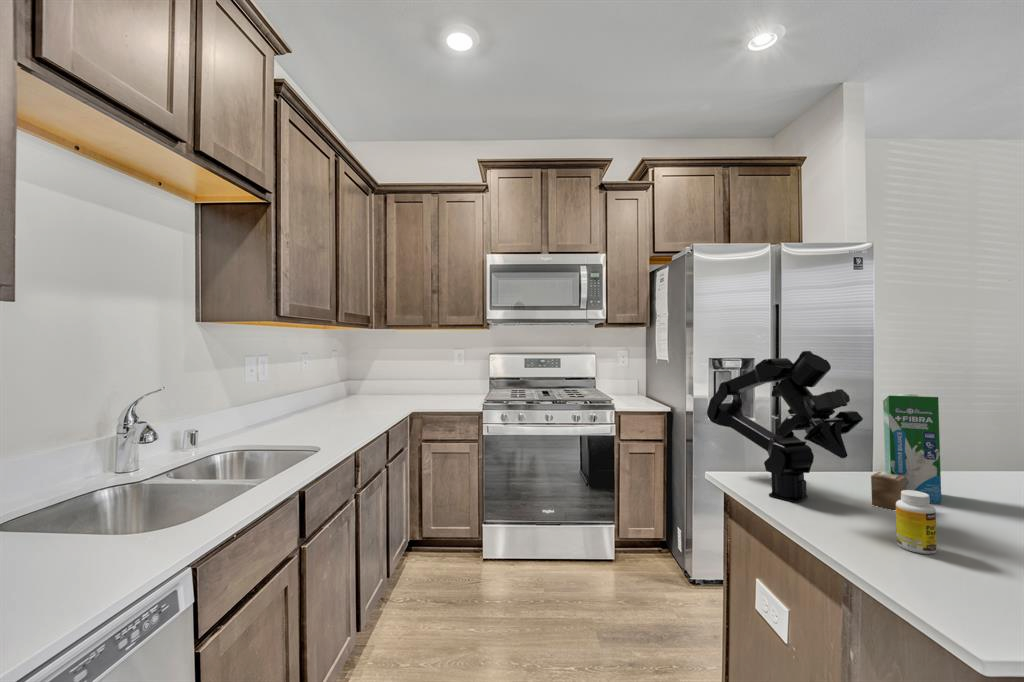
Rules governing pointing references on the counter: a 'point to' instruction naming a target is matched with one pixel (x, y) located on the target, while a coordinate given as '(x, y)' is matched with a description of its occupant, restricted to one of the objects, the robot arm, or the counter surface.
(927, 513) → the supplement bottle
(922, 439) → the milk carton
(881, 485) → the brown rectangular block
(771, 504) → the counter surface
